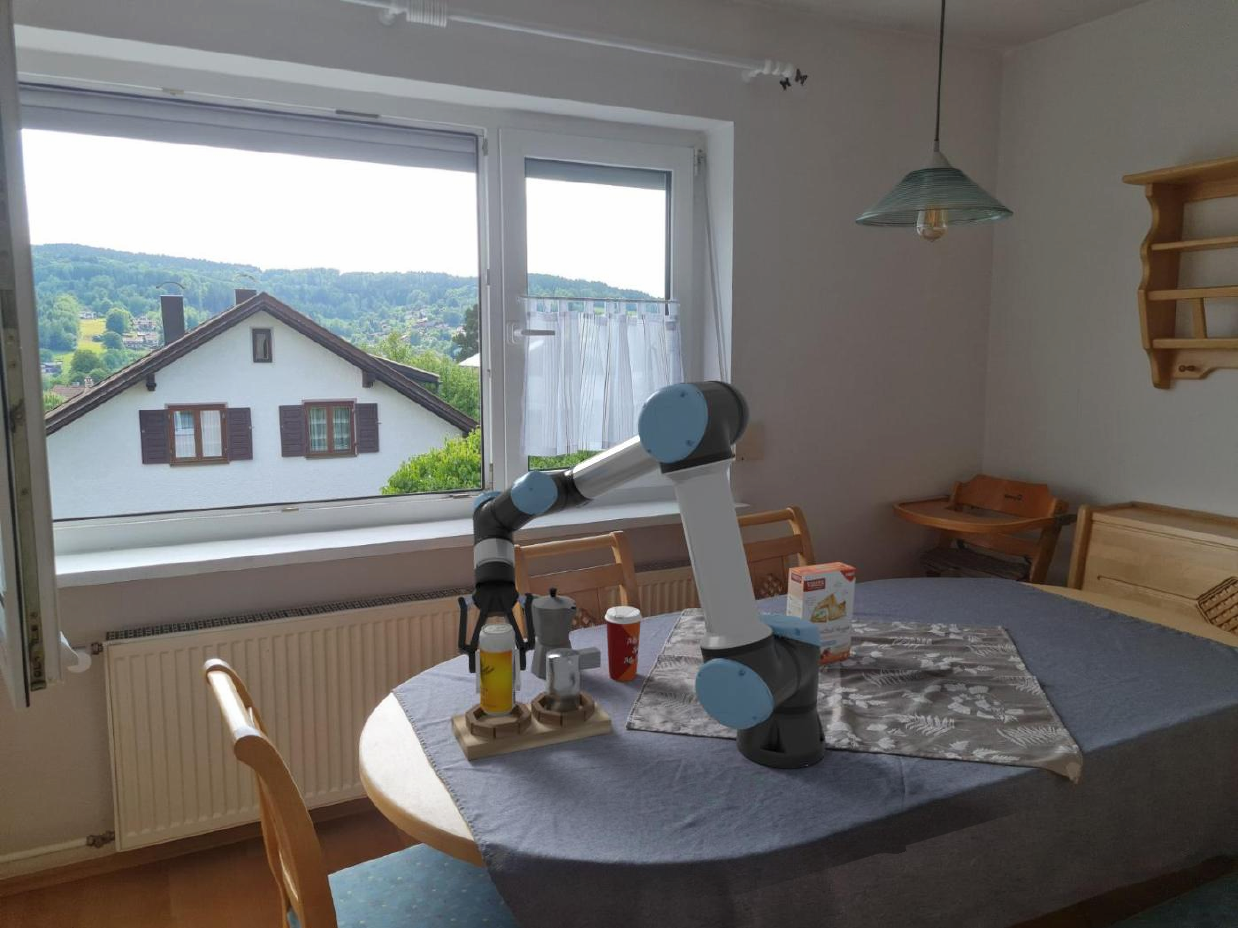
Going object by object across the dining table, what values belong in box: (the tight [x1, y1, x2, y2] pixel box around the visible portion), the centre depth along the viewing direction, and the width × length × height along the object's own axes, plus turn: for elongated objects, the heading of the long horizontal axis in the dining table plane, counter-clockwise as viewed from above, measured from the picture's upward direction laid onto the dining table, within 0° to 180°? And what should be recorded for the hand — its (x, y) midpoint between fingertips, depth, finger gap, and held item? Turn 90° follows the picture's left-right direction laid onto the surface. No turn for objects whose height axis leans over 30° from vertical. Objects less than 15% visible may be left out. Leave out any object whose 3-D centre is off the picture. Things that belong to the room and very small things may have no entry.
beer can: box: [479, 621, 516, 716], centre depth 150 cm, size 6×6×15 cm
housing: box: [450, 690, 612, 761], centre depth 154 cm, size 12×26×4 cm, turn 114°
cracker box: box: [785, 561, 857, 665], centre depth 187 cm, size 14×6×21 cm, turn 115°
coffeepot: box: [521, 587, 580, 679], centre depth 180 cm, size 15×9×18 cm, turn 55°
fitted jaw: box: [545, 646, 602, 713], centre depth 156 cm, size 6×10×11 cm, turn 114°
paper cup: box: [604, 605, 643, 682], centre depth 177 cm, size 8×8×14 cm
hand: (498, 688), depth 146 cm, fingers closed on beer can, 6 cm apart
